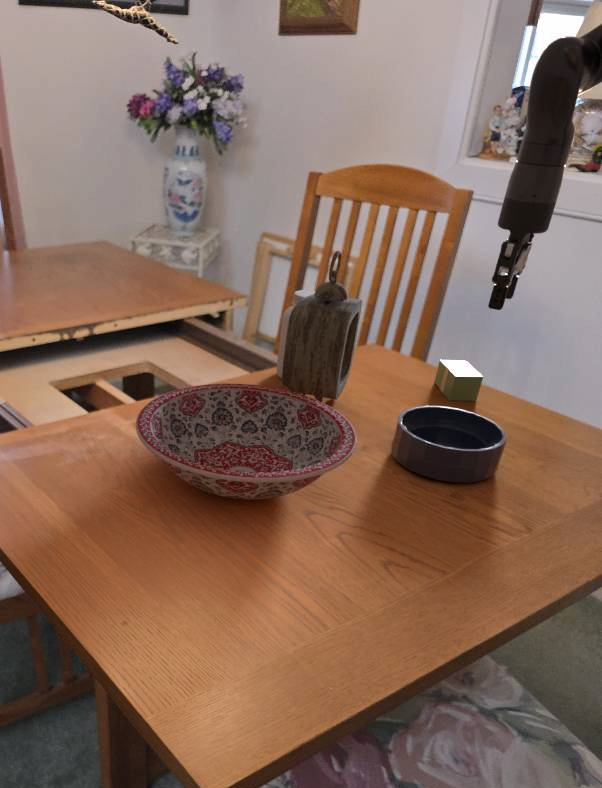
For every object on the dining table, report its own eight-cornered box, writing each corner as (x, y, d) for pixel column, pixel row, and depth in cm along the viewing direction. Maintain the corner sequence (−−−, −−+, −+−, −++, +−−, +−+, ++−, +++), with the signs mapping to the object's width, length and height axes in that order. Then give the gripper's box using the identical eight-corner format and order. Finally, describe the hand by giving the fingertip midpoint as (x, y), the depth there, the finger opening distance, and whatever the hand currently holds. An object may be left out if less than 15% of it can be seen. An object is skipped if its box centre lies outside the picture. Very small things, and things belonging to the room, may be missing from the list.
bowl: (472, 439, 112) (481, 406, 109) (513, 486, 99) (525, 451, 96) (378, 437, 111) (385, 404, 108) (408, 485, 98) (417, 450, 95)
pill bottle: (327, 376, 131) (340, 294, 123) (302, 387, 126) (314, 302, 118) (292, 365, 136) (302, 285, 127) (267, 375, 131) (276, 292, 122)
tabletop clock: (329, 428, 113) (357, 264, 99) (275, 417, 115) (294, 256, 101) (346, 396, 124) (372, 245, 110) (296, 387, 126) (315, 239, 112)
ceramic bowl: (90, 481, 95) (88, 426, 90) (217, 415, 115) (220, 368, 110) (274, 565, 81) (282, 506, 76) (382, 474, 101) (393, 422, 96)
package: (459, 384, 132) (466, 360, 129) (476, 401, 125) (483, 376, 123) (433, 383, 131) (439, 359, 129) (449, 400, 125) (455, 376, 122)
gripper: (549, 205, 102) (515, 317, 111) (563, 194, 112) (531, 298, 121) (496, 198, 105) (467, 308, 114) (514, 188, 115) (486, 290, 124)
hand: (500, 303), depth 117 cm, fingers open, 8 cm apart
